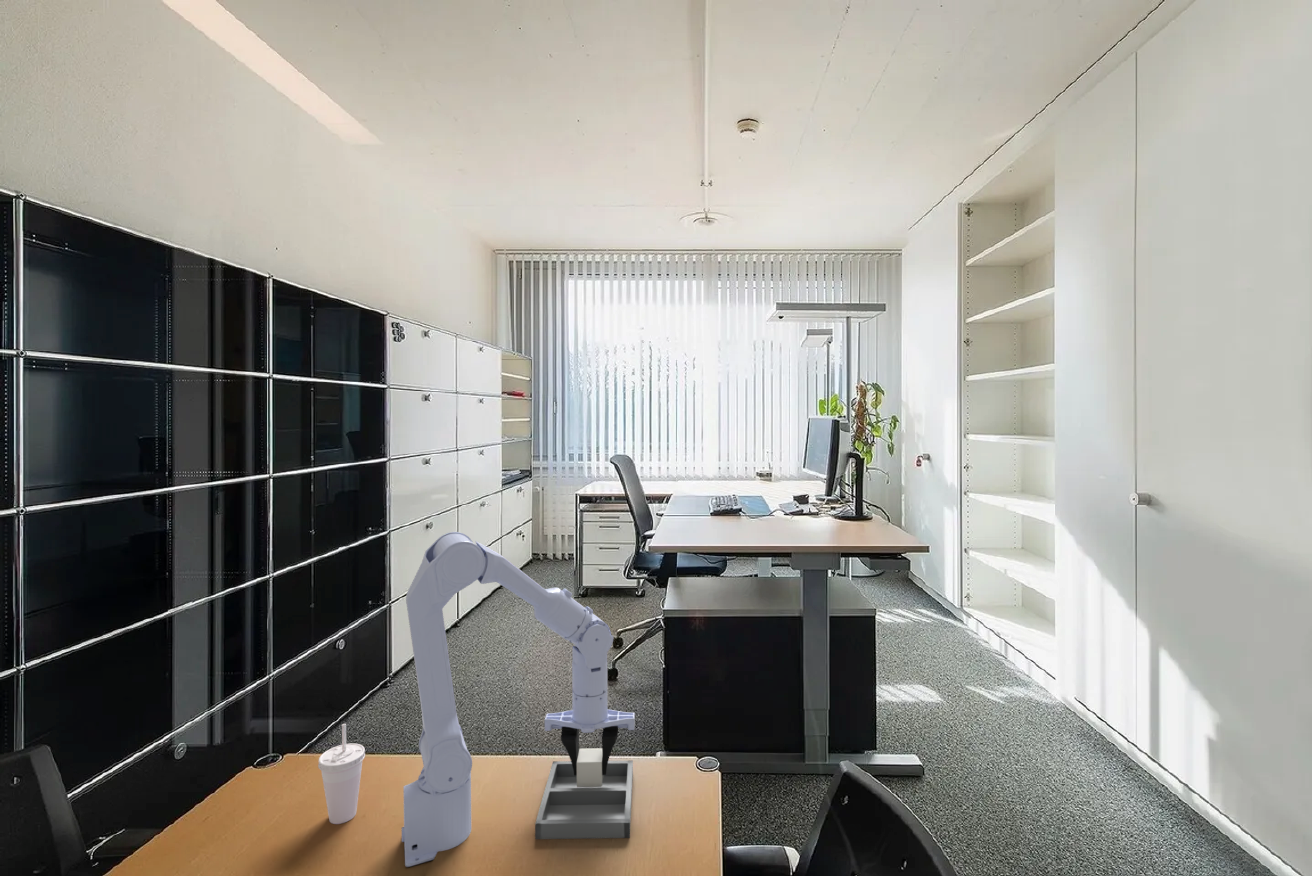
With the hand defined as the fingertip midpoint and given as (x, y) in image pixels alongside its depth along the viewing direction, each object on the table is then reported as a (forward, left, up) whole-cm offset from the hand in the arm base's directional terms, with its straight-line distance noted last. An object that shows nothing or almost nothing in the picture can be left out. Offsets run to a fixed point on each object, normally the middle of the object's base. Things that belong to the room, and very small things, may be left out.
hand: (590, 771), depth 95 cm
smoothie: (-36, +11, -4) cm, 38 cm away
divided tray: (-1, -3, -4) cm, 5 cm away
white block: (0, 0, -1) cm, 1 cm away
